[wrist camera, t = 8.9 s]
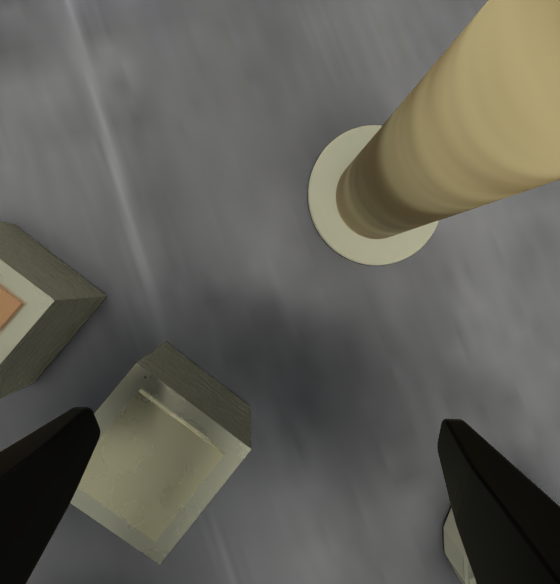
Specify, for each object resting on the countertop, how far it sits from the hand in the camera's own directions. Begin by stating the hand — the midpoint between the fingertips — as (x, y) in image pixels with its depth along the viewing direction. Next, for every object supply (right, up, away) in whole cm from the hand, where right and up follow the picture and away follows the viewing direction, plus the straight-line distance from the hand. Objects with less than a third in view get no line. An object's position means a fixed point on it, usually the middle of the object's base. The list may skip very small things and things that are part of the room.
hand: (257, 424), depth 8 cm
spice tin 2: (-5, -4, +10) cm, 12 cm away
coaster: (+6, +9, +11) cm, 15 cm away
